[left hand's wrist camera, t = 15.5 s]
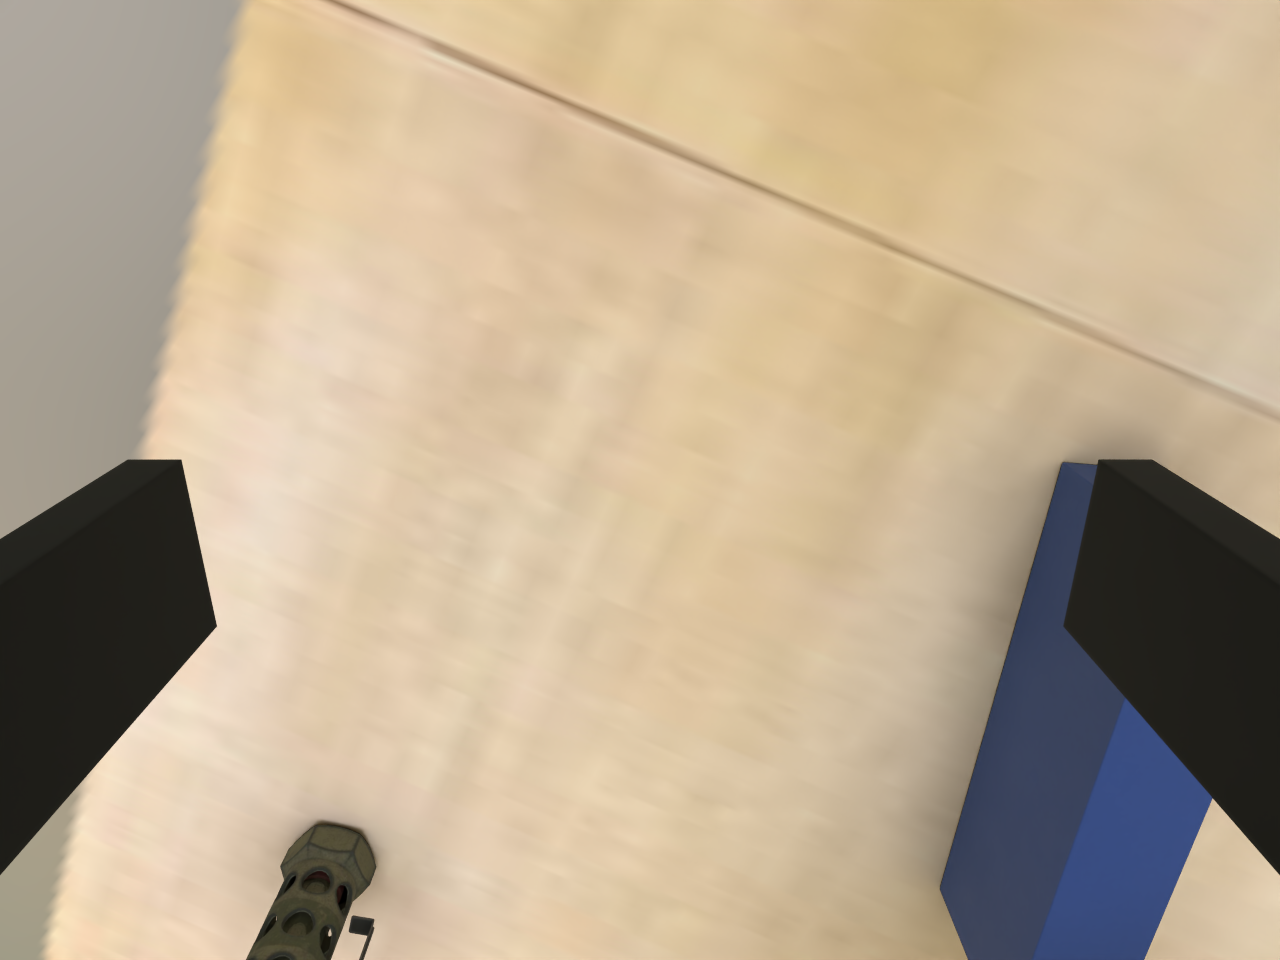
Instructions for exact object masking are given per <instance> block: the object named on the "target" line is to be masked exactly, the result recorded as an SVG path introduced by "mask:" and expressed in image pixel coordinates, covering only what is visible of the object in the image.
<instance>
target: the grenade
mask: <svg viewBox="0 0 1280 960" xmlns="http://www.w3.org/2000/svg"><path fill="white" fill-rule="evenodd" d="M280 867H281V870H282V874H283V877H284V882H283V884H282V886H281V888H280V890H279V893H278V895H277V897H276V899H275V901H274V903H273V905H272V907H271V909H270V911H269V913H268V915H267V917H266V919H265V922H264V924H263V926H262V928H261V930H260V932H259V934H258V937H257V939H256V941H255V943H254V944H253V946H252V948H251V950H250V952H249V955H248V957H247V959H246V960H331V958H332V955H333V952H334V950H335V947H336V944H337V941H338V939H339V937H340V934H341V931H342V929H343V926H344V923H345V921H346V918H347V915H348V913H349V910H350V907H351V905H352V902H353V901H354V900H355V899H356V898H357V897H358V896H359V895H361V894H362V893H363V892H364V890H365V889H366V888H367V887H368V886H369V885H370V883H371V880H372V878H373V875H374V872H375V869H376V864H375V861H374V858H373V855H372V852H371V850H370V848H369V846H368V844H367V842H366V841H365V839H364V838H363V837H362V836H361V834H358V833H356V832H354V831H352V830H349V829H346V828H342V827H338V826H330V825H315V826H314V827H312V828H311V829H310V830H308V831H307V832H306V833H305V834H303V835H302V836H301V837H300V838H299V839H298V840H297V841H296V842H295V843H294V844H293V845H292V846H291V847H290V848H289V850H288V852H287V854H286V856H285V858H284V860H283V862H282V864H281V866H280ZM276 916H277V920H276ZM373 924H374V919H371V918H365V917H359V916H352V918H351V923H350V928H349V932H350V933H355V934H360V935H366V936H367V939H366V942H365V945H364V948H363V950H362V953H361V956H360V959H359V960H364V957H365V954H366V951H367V948H368V945H369V943H370V940H371V937H372V934H373V931H374V927H373ZM330 929H331V932H332V936H330V937H329V936H328V932H329V930H330Z"/></svg>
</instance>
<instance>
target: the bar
mask: <svg viewBox="0 0 1280 960" xmlns="http://www.w3.org/2000/svg"><path fill="white" fill-rule="evenodd" d="M1096 470H1097V465H1090V464H1078V463H1066V462H1063V463H1062V466H1061V469H1060V473H1059V476H1058V480H1057V483H1056V487H1055V490H1054V494H1053V497H1052V501H1051V504H1050V508H1049V511H1048V514H1047V518H1046V521H1045V525H1044V528H1043V532H1042V535H1041V539H1040V542H1039V546H1038V549H1037V553H1036V556H1035V560H1034V563H1033V567H1032V570H1031V574H1030V577H1029V581H1028V584H1027V587H1026V591H1025V594H1024V598H1023V601H1022V605H1021V608H1020V612H1019V615H1018V619H1017V622H1016V626H1015V629H1014V633H1013V636H1012V640H1011V643H1010V647H1009V650H1008V654H1007V657H1006V660H1005V664H1004V667H1003V671H1002V674H1001V678H1000V681H999V685H998V688H997V692H996V695H995V699H994V702H993V706H992V709H991V713H990V716H989V720H988V723H987V727H986V730H985V733H984V737H983V740H982V744H981V747H980V751H979V754H978V758H977V761H976V765H975V768H974V772H973V775H972V779H971V782H970V786H969V789H968V793H967V796H966V800H965V803H964V806H963V810H962V813H961V817H960V820H959V824H958V827H957V831H956V834H955V838H954V841H953V845H952V848H951V852H950V855H949V859H948V862H947V866H946V869H945V873H944V876H943V879H942V883H941V886H940V891H941V893H942V896H943V898H944V901H945V903H946V906H947V908H948V911H949V913H950V916H951V918H952V921H953V923H954V926H955V928H956V931H957V933H958V936H959V938H960V941H961V943H962V946H963V948H964V951H965V953H966V955H967V958H968V960H1144V959H1145V956H1146V954H1147V952H1148V949H1149V947H1150V945H1151V942H1152V940H1153V938H1154V935H1155V933H1156V930H1157V928H1158V926H1159V923H1160V921H1161V919H1162V916H1163V914H1164V912H1165V909H1166V907H1167V904H1168V902H1169V900H1170V897H1171V895H1172V893H1173V890H1174V888H1175V886H1176V883H1177V881H1178V878H1179V876H1180V874H1181V871H1182V869H1183V867H1184V864H1185V862H1186V860H1187V857H1188V855H1189V852H1190V850H1191V848H1192V845H1193V843H1194V841H1195V838H1196V836H1197V834H1198V831H1199V829H1200V826H1201V824H1202V822H1203V819H1204V817H1205V815H1206V812H1207V810H1208V808H1209V805H1210V803H1211V800H1212V797H1211V795H1210V794H1209V793H1208V792H1207V791H1206V790H1205V789H1204V787H1203V786H1202V785H1201V784H1200V783H1199V782H1198V781H1197V779H1196V778H1195V777H1194V776H1193V775H1192V774H1191V773H1190V771H1189V770H1188V769H1187V768H1186V767H1185V766H1184V765H1183V763H1182V762H1181V761H1180V760H1179V759H1178V758H1177V756H1176V755H1175V754H1174V753H1173V752H1172V751H1171V750H1170V748H1169V747H1168V746H1167V745H1166V744H1165V743H1164V742H1163V740H1162V739H1161V738H1160V737H1159V736H1158V735H1157V734H1156V732H1155V731H1154V730H1153V729H1152V728H1151V727H1150V725H1149V724H1148V723H1147V722H1146V721H1145V720H1144V719H1143V717H1142V716H1141V715H1140V714H1139V713H1138V712H1137V711H1136V709H1135V708H1134V707H1133V706H1132V705H1131V704H1130V703H1129V701H1128V700H1127V699H1126V698H1125V697H1124V696H1123V694H1122V693H1121V692H1120V691H1119V690H1118V689H1117V688H1116V686H1115V685H1114V684H1113V683H1112V682H1111V681H1110V680H1109V678H1108V677H1107V676H1106V675H1105V674H1104V673H1103V672H1102V670H1101V669H1100V668H1099V667H1098V666H1097V665H1096V664H1095V662H1094V661H1093V660H1092V659H1091V658H1090V657H1089V655H1088V654H1087V653H1086V652H1085V651H1084V650H1083V649H1082V647H1081V646H1080V645H1079V644H1078V643H1077V642H1076V641H1075V639H1074V638H1073V637H1072V636H1071V635H1070V634H1069V633H1068V631H1067V630H1066V629H1065V628H1064V627H1063V624H1064V620H1065V615H1066V610H1067V606H1068V601H1069V596H1070V592H1071V587H1072V582H1073V578H1074V573H1075V568H1076V564H1077V559H1078V554H1079V549H1080V545H1081V540H1082V535H1083V531H1084V526H1085V521H1086V517H1087V512H1088V507H1089V503H1090V498H1091V493H1092V489H1093V484H1094V479H1095V474H1096Z"/></svg>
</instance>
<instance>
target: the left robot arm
mask: <svg viewBox="0 0 1280 960" xmlns="http://www.w3.org/2000/svg"><path fill="white" fill-rule="evenodd" d="M216 627H217V624H216V620H215V615H214V610H213V606H212V601H211V596H210V592H209V587H208V582H207V578H206V573H205V568H204V564H203V559H202V554H201V549H200V545H199V540H198V535H197V531H196V526H195V521H194V517H193V512H192V507H191V503H190V498H189V493H188V489H187V484H186V479H185V474H184V470H183V465H182V460H126V461H125V462H123V463H122V464H120V465H118V466H117V467H115V468H114V469H112V470H110V471H109V472H107V473H106V474H104V475H102V476H101V477H99V478H98V479H96V480H94V481H93V482H91V483H90V484H88V485H86V486H85V487H83V488H82V489H80V490H78V491H77V492H75V493H73V494H72V495H70V496H69V497H67V498H66V499H64V500H62V501H61V502H59V503H57V504H56V505H54V506H53V507H51V508H49V509H48V510H46V511H45V512H43V513H41V514H40V515H38V516H37V517H35V518H33V519H32V520H30V521H28V522H27V523H25V524H24V525H22V526H20V527H19V528H17V529H16V530H14V531H12V532H11V533H9V534H8V535H6V536H4V537H3V538H1V539H0V875H1V874H2V872H3V871H4V870H5V869H6V868H7V867H8V865H9V864H10V863H11V862H12V861H13V860H14V859H15V857H16V856H17V855H18V854H19V853H20V852H21V851H22V849H23V848H24V847H25V846H26V845H27V844H28V842H29V841H30V840H31V839H32V838H33V837H34V836H35V835H36V833H37V832H38V831H39V830H40V829H41V828H42V826H43V825H44V824H45V823H46V822H47V821H48V820H49V818H50V817H51V816H52V815H53V814H54V813H55V811H56V810H57V809H58V808H59V807H60V806H61V805H62V803H63V802H64V801H65V800H66V799H67V798H68V797H69V795H70V794H71V793H72V792H73V791H74V790H75V789H76V787H77V786H78V785H79V784H80V783H81V782H82V781H83V779H84V778H85V777H86V776H87V775H88V774H89V773H90V771H91V770H92V769H93V768H94V767H95V766H96V765H97V763H98V762H99V761H100V760H101V759H102V758H103V756H104V755H105V754H106V753H107V752H108V751H109V750H110V748H111V747H112V746H113V745H114V744H115V743H116V742H117V740H118V739H119V738H120V737H121V736H122V735H123V734H124V732H125V731H126V730H127V729H128V728H129V727H130V725H131V724H132V723H133V722H134V721H135V720H136V719H137V717H138V716H139V715H140V714H141V713H142V712H143V711H144V709H145V708H146V707H147V706H148V705H149V704H150V703H151V701H152V700H153V699H154V698H155V697H156V696H157V694H158V693H159V692H160V691H161V690H162V689H163V688H164V686H165V685H166V684H167V683H168V682H169V681H170V680H171V678H172V677H173V676H174V675H175V674H176V673H177V672H178V670H179V669H180V668H181V667H182V666H183V665H184V664H185V662H186V661H187V660H188V659H189V658H190V657H191V655H192V654H193V653H194V652H195V651H196V650H197V649H198V647H199V646H200V645H201V644H202V643H203V642H204V641H205V639H206V638H207V637H208V636H209V635H210V634H211V633H212V631H213V630H214V629H215V628H216ZM1063 627H1064V628H1065V629H1066V630H1067V631H1068V633H1069V634H1070V635H1071V636H1072V637H1073V638H1074V639H1075V641H1076V642H1077V643H1078V644H1079V645H1080V646H1081V647H1082V649H1083V650H1084V651H1085V652H1086V653H1087V654H1088V655H1089V657H1090V658H1091V659H1092V660H1093V661H1094V662H1095V664H1096V665H1097V666H1098V667H1099V668H1100V669H1101V670H1102V672H1103V673H1104V674H1105V675H1106V676H1107V677H1108V678H1109V680H1110V681H1111V682H1112V683H1113V684H1114V685H1115V686H1116V688H1117V689H1118V690H1119V691H1120V692H1121V693H1122V694H1123V696H1124V697H1125V698H1126V699H1127V700H1128V701H1129V703H1130V704H1131V705H1132V706H1133V707H1134V708H1135V709H1136V711H1137V712H1138V713H1139V714H1140V715H1141V716H1142V717H1143V719H1144V720H1145V721H1146V722H1147V723H1148V724H1149V725H1150V727H1151V728H1152V729H1153V730H1154V731H1155V732H1156V734H1157V735H1158V736H1159V737H1160V738H1161V739H1162V740H1163V742H1164V743H1165V744H1166V745H1167V746H1168V747H1169V748H1170V750H1171V751H1172V752H1173V753H1174V754H1175V755H1176V756H1177V758H1178V759H1179V760H1180V761H1181V762H1182V763H1183V765H1184V766H1185V767H1186V768H1187V769H1188V770H1189V771H1190V773H1191V774H1192V775H1193V776H1194V777H1195V778H1196V779H1197V781H1198V782H1199V783H1200V784H1201V785H1202V786H1203V787H1204V789H1205V790H1206V791H1207V792H1208V793H1209V794H1210V795H1211V797H1212V798H1213V799H1214V800H1215V801H1216V802H1217V804H1218V805H1219V806H1220V807H1221V808H1222V809H1223V810H1224V812H1225V813H1226V814H1227V815H1228V816H1229V817H1230V818H1231V820H1232V821H1233V822H1234V823H1235V824H1236V825H1237V826H1238V828H1239V829H1240V830H1241V831H1242V832H1243V833H1244V835H1245V836H1246V837H1247V838H1248V839H1249V840H1250V841H1251V843H1252V844H1253V845H1254V846H1255V847H1256V848H1257V849H1258V851H1259V852H1260V853H1261V854H1262V855H1263V856H1264V857H1265V859H1266V860H1267V861H1268V862H1269V863H1270V864H1271V865H1272V867H1273V868H1274V869H1275V870H1276V871H1277V872H1278V874H1279V875H1280V539H1279V538H1277V537H1276V536H1274V535H1272V534H1271V533H1269V532H1268V531H1266V530H1264V529H1263V528H1261V527H1260V526H1258V525H1256V524H1255V523H1253V522H1252V521H1250V520H1248V519H1247V518H1245V517H1243V516H1242V515H1240V514H1239V513H1237V512H1235V511H1234V510H1232V509H1231V508H1229V507H1227V506H1226V505H1224V504H1223V503H1221V502H1219V501H1218V500H1216V499H1215V498H1213V497H1211V496H1210V495H1208V494H1207V493H1205V492H1203V491H1202V490H1200V489H1198V488H1197V487H1195V486H1194V485H1192V484H1190V483H1189V482H1187V481H1186V480H1184V479H1182V478H1181V477H1179V476H1178V475H1176V474H1174V473H1173V472H1171V471H1170V470H1168V469H1166V468H1165V467H1163V466H1162V465H1160V464H1158V463H1157V462H1155V461H1154V460H1098V465H1097V470H1096V474H1095V479H1094V484H1093V489H1092V493H1091V498H1090V503H1089V507H1088V512H1087V517H1086V521H1085V526H1084V531H1083V535H1082V540H1081V545H1080V549H1079V554H1078V559H1077V564H1076V568H1075V573H1074V578H1073V582H1072V587H1071V592H1070V596H1069V601H1068V606H1067V610H1066V615H1065V620H1064V624H1063Z"/></svg>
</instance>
